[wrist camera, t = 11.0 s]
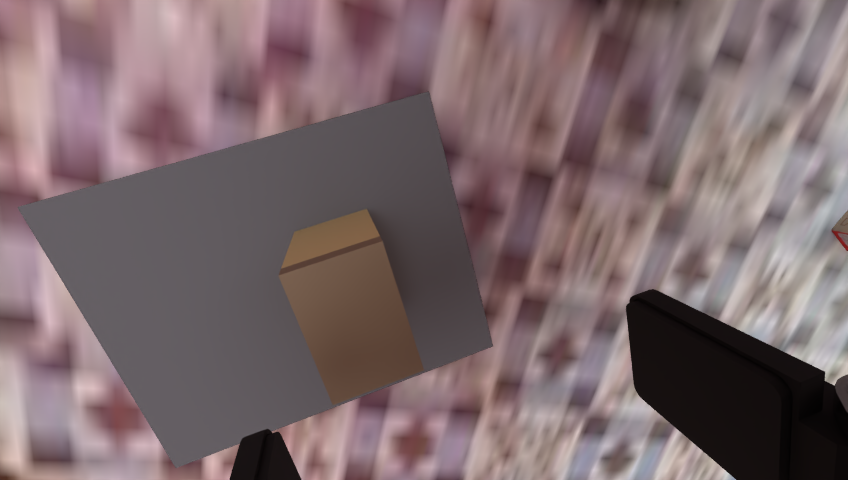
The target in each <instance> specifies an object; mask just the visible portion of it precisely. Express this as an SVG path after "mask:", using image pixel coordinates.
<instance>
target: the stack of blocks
mask: <svg viewBox="0 0 848 480" xmlns="http://www.w3.org/2000/svg"><path fill="white" fill-rule="evenodd" d="M832 232H833V233H834V235H835V236H836V237H837V239H838V240H839V241H840V242H841V244H842V245H843V246H844V247H845V249H846V250H847V251H848V211H847V212H846V213H845V214H844V215H843V216H842V218H841V219H840V220H839V221H838V222H837V223H836V225H835V226H834V227H833V228H832Z"/></svg>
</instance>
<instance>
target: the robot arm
mask: <svg viewBox="0 0 848 480" xmlns="http://www.w3.org/2000/svg"><path fill="white" fill-rule="evenodd" d="M626 312H627V322H628V332H629V341H630V351H631V361H632V371H633V380H634V387H635V389H636V391H637V393H638V395H639V396H640V397H641V398H642V399H643V400H644V401H645V402H646V403H647V404H649V405H650V406H651V407H652V408H653V409H654V410H656V411H657V412H658V413H659V414H660V415H661V416H663V417H664V418H665V419H666V420H667V421H668V422H670V423H671V424H672V425H673V426H674V427H675V428H677V429H678V430H679V431H680V432H681V433H682V434H684V435H685V436H686V437H687V438H688V439H689V440H691V441H692V442H693V443H694V444H695V445H696V446H698V447H699V448H700V449H701V450H702V451H703V452H705V453H706V454H707V455H708V456H709V457H711V458H712V459H713V460H714V461H715V462H716V463H718V464H719V465H720V466H721V467H722V468H723V469H725V470H726V471H727V472H728V473H729V474H730V475H732V476H733V477H734V478H735V479H736V480H848V375H845V376H843V377H841V378H840V379H838V380H837V382H836V384H835V386H834V385H832V384H830V383H828V382H826V381H824V380H825V372H824V371H822V370H820V369H818V368H816V367H814V366H812V365H810V364H808V363H806V362H804V361H801V360H799V359H797V358H795V357H793V356H791V355H789V354H787V353H785V352H783V351H781V350H779V349H777V348H775V347H773V346H771V345H768V344H766V343H764V342H762V341H760V340H758V339H756V338H754V337H752V336H750V335H748V334H746V333H744V332H742V331H740V330H737V329H735V328H733V327H731V326H729V325H727V324H725V323H723V322H721V321H719V320H717V319H715V318H713V317H711V316H709V315H707V314H704V313H702V312H700V311H698V310H696V309H694V308H692V307H690V306H688V305H686V304H684V303H682V302H680V301H678V300H676V299H673V298H671V297H669V296H667V295H665V294H663V293H661V292H659V291H657V290H654V289H652V290H648V291H645V292H642V293H639V294H637V295H634V296H632V297H631V298H630V303H629V304H627V306H626ZM230 480H301V478H300V475H299V473H298V471H297V469H296V467H295V465H294V462H293V460H292V458H291V456H290V454H289V451H288V449H287V447H286V445H285V443H284V440H283V438H282V436H281V434H280V433H279V432H275V433H272V432H271V431H270V430H269V429H265V430H262V431H259V432H256V433H254V434H251V435H248V436H245V437H243V438H242V440H241V442H240V445H239V449H238V452H237V456H236V459H235V462H234V466H233V469H232V473H231V476H230Z"/></svg>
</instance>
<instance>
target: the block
mask: <svg viewBox="0 0 848 480" xmlns="http://www.w3.org/2000/svg"><path fill="white" fill-rule="evenodd" d="M278 276H279V278H280V281H281V283H282V286H283V288H284V290H285V293H286V295H287V297H288V300H289V302H290V305H291V307H292V309H293V312H294V314H295V316H296V319H297V321H298V324H299V326H300V328H301V331H302V333H303V335H304V338H305V340H306V343H307V345H308V347H309V350H310V352H311V354H312V357H313V359H314V362H315V364H316V366H317V369H318V371H319V373H320V376H321V378H322V381H323V383H324V385H325V388H326V390H327V392H328V395H329V397H330V400H331V402H332V404H333V405H335V404H337V403H340V402H343V401H345V400H348V399H350V398H353V397H356V396H358V395H361V394H363V393H366V392H369V391H371V390H374V389H376V388H379V387H382V386H384V385H387V384H390V383H392V382H395V381H397V380H400V379H403V378H405V377H408V376H410V375H413V374H416V373H418V372H421V371H423V370H424V368H423V365H422V362H421V359H420V356H419V353H418V349H417V346H416V343H415V340H414V337H413V334H412V331H411V328H410V325H409V322H408V318H407V315H406V312H405V309H404V306H403V303H402V300H401V297H400V294H399V291H398V287H397V284H396V281H395V278H394V275H393V272H392V269H391V266H390V263H389V260H388V256H387V253H386V250H385V247H384V244H383V241H382V239H381V237H380V235H379V233H378V231H377V229H376V227H375V225H374V223H373V221H372V219H371V217H370V214H369V212H368V210H367V209H364V210H361V211H358V212H355V213H352V214H349V215H345V216H342V217H339V218H336V219H333V220H330V221H327V222H323V223H320V224H317V225H314V226H311V227H308V228H305V229H301V230H298V231H295V232H294V234H293V237H292V240H291V243H290V245H289V248H288V251H287V253H286V256H285V259H284V262H283V264H282V267H281V270H280V272H279V275H278Z"/></svg>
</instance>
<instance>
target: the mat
mask: <svg viewBox="0 0 848 480" xmlns="http://www.w3.org/2000/svg"><path fill="white" fill-rule="evenodd" d="M18 209H19V211H20V212H21V214H22V216H23V217H24V219H25V221H26V222H27V224H28V225H29V227H30V229H31V230H32V232H33V234H34V235H35V237H36V239H37V240H38V242H39V244H40V245H41V247H42V249H43V250H44V252H45V253H46V255H47V257H48V258H49V260H50V262H51V263H52V265H53V267H54V268H55V270H56V272H57V273H58V275H59V276H60V278H61V280H62V281H63V283H64V285H65V286H66V288H67V290H68V291H69V293H70V295H71V296H72V298H73V300H74V301H75V303H76V304H77V306H78V308H79V309H80V311H81V313H82V314H83V316H84V318H85V319H86V321H87V323H88V324H89V326H90V328H91V329H92V331H93V332H94V334H95V336H96V337H97V339H98V341H99V342H100V344H101V346H102V347H103V349H104V351H105V352H106V354H107V356H108V357H109V359H110V360H111V362H112V364H113V365H114V367H115V369H116V370H117V372H118V374H119V375H120V377H121V379H122V380H123V382H124V383H125V385H126V387H127V388H128V390H129V392H130V393H131V395H132V397H133V398H134V400H135V402H136V403H137V405H138V407H139V408H140V410H141V411H142V413H143V415H144V416H145V418H146V420H147V421H148V423H149V425H150V426H151V428H152V430H153V431H154V433H155V435H156V436H157V438H158V439H159V441H160V443H161V444H162V446H163V448H164V449H165V451H166V453H167V454H168V456H169V458H170V459H171V461H172V462H173V464H174V466H175V467H176V468H177V467H180V466H182V465H185V464H188V463H190V462H193V461H195V460H198V459H201V458H203V457H206V456H208V455H211V454H214V453H216V452H219V451H221V450H224V449H227V448H229V447H232V446H234V445H237V444H240V442H241V440H242V438H243V437H245V436H248V435H251V434H254V433H256V432H259V431H262V430H265V429H269V430H270V431H274V430H276V429H279V428H281V427H284V426H287V425H289V424H292V423H294V422H297V421H300V420H302V419H305V418H307V417H310V416H313V415H315V414H318V413H320V412H323V411H326V410H328V409H331V408H334V407H336V406H339V405H341V404H344V403H347V402H349V401H352V400H354V399H357V398H360V397H362V396H365V395H367V394H370V393H373V392H375V391H378V390H380V389H383V388H386V387H388V386H391V385H393V384H396V383H399V382H401V381H404V380H406V379H409V378H412V377H414V376H417V375H420V374H422V373H425V372H427V371H430V370H433V369H435V368H438V367H440V366H443V365H446V364H448V363H451V362H453V361H456V360H459V359H461V358H464V357H466V356H469V355H472V354H474V353H477V352H479V351H482V350H485V349H487V348H490V347H492V346H493V344H492V340H491V336H490V332H489V328H488V324H487V320H486V316H485V312H484V308H483V304H482V300H481V296H480V292H479V288H478V284H477V280H476V276H475V272H474V268H473V264H472V261H471V257H470V253H469V249H468V245H467V241H466V237H465V233H464V229H463V225H462V221H461V217H460V213H459V209H458V205H457V201H456V197H455V193H454V189H453V185H452V181H451V177H450V173H449V169H448V165H447V161H446V157H445V153H444V149H443V145H442V141H441V137H440V133H439V129H438V125H437V121H436V117H435V113H434V110H433V106H432V102H431V98H430V94H429V92H425V93H421V94H418V95H414V96H411V97H407V98H404V99H400V100H397V101H393V102H389V103H386V104H382V105H379V106H375V107H372V108H368V109H365V110H361V111H357V112H354V113H350V114H347V115H343V116H340V117H336V118H333V119H329V120H325V121H322V122H318V123H315V124H311V125H308V126H304V127H301V128H297V129H293V130H290V131H286V132H283V133H279V134H276V135H272V136H269V137H265V138H262V139H258V140H254V141H251V142H247V143H244V144H240V145H237V146H233V147H230V148H226V149H222V150H219V151H215V152H212V153H208V154H205V155H201V156H198V157H194V158H190V159H187V160H183V161H180V162H176V163H173V164H169V165H166V166H162V167H158V168H155V169H151V170H148V171H144V172H141V173H137V174H134V175H130V176H126V177H123V178H119V179H116V180H112V181H109V182H105V183H102V184H98V185H94V186H91V187H87V188H84V189H80V190H77V191H73V192H70V193H66V194H63V195H59V196H55V197H52V198H48V199H45V200H41V201H38V202H34V203H31V204H27V205H23V206H20V207H18ZM364 209H367V210H368V212H369V214H370V217H371V219H372V221H373V223H374V225H375V227H376V229H377V231H378V233H379V235H380V237H381V239H382V241H383V244H384V247H385V250H386V253H387V256H388V260H389V263H390V266H391V269H392V272H393V275H394V278H395V281H396V284H397V287H398V291H399V294H400V297H401V300H402V303H403V306H404V309H405V312H406V315H407V318H408V322H409V325H410V328H411V331H412V334H413V337H414V340H415V343H416V346H417V349H418V353H419V356H420V359H421V362H422V365H423V368H424V370H423V371H421V372H418V373H416V374H413V375H410V376H408V377H405V378H403V379H400V380H397V381H395V382H392V383H390V384H387V385H384V386H382V387H379V388H376V389H374V390H371V391H369V392H366V393H363V394H361V395H358V396H356V397H353V398H350V399H348V400H345V401H343V402H340V403H337V404H335V405H333V404H332V402H331V400H330V397H329V395H328V392H327V390H326V388H325V385H324V383H323V381H322V378H321V376H320V373H319V371H318V369H317V366H316V364H315V362H314V359H313V357H312V354H311V352H310V350H309V347H308V345H307V343H306V340H305V338H304V335H303V333H302V331H301V328H300V326H299V324H298V321H297V319H296V316H295V314H294V312H293V309H292V307H291V305H290V302H289V300H288V297H287V295H286V293H285V290H284V288H283V286H282V283H281V281H280V278H279V276H278V275H279V272H280V270H281V267H282V264H283V262H284V259H285V256H286V253H287V251H288V248H289V245H290V243H291V240H292V237H293V234H294V232H295V231H298V230H301V229H305V228H308V227H311V226H314V225H317V224H320V223H323V222H327V221H330V220H333V219H336V218H339V217H342V216H345V215H349V214H352V213H355V212H358V211H361V210H364Z"/></svg>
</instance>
